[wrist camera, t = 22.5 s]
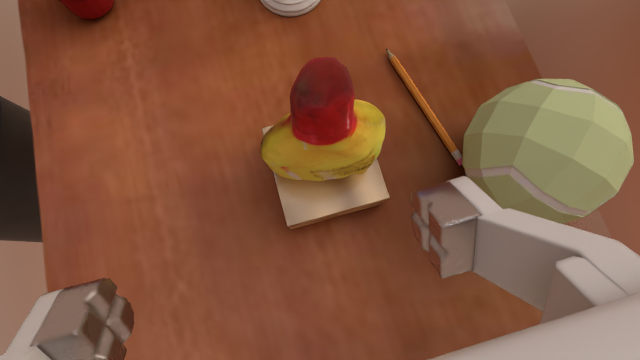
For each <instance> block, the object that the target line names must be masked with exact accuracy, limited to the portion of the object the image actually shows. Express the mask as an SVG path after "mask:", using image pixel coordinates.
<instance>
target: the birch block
mask: <svg viewBox="0 0 640 360" xmlns="http://www.w3.org/2000/svg"><path fill="white" fill-rule="evenodd" d="M272 126H273V125H272ZM272 126H268V127H264V128H262V132H263V136H264V135H265V134H266V132H267V131H268V130H269V129H270V128H271V127H272ZM273 174H274V178H275V182H276V186H277V189H278V193H279V197H280V201H281V205H282V209H283V212H284V216H285V220H286V224H287V227H288V228H289V229H290V230H292V229H295V228H299V227H302V226H306V225H310V224H313V223H317V222H320V221H324V220H327V219H331V218H334V217H338V216H341V215H345V214H349V213H352V212H356V211H359V210H363V209H366V208H370V207H373V206H377V205H380V204H382V203H384V202H385V201H386V200H387V199H389V198H390V197H389V194H388V191H387V188H386V185H385V182H384V179H383V176H382V173H381V170H380V167H379V164H378V161H377V158H376V159H375V160H374V162H373V164H372V165H371V166H370V167H368V168H367V170H366V171H365V172H364V173H363V174H357V173H355V174H351V175H349V176H347V177H344V178H341V179H329V180H324V181H312V180H294V179H290V178H284V177H281V176H279V175H278V174H276V173H275V172H274V171H273Z"/></svg>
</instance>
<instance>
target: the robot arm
mask: <svg viewBox="0 0 640 360" xmlns="http://www.w3.org/2000/svg"><path fill="white" fill-rule="evenodd" d="M410 204H411V205H412V207H413V208H414V209H415V211H414V213H413V214H412V216H411V220H412V227H413V231H414V235H415V237H416V239H417V241H418V243H419V245H420V246H421V248H422V249H424V250H426V251H429V256H430V262H431V263H432V265H433V266H434V268H435V269H436V271H437V272H438V274H439V275H440V277H441V278H446V277H450V276H453V275H457V274H461V273H464V272H468V271H472V270H473V272H474V273H476V274H478V275H480V276H481V277H483V278H485V279H487V280H488V281H490V282H492V283H494V284H495V285H497V286H499V287H501V288H502V289H504V290H506V291H508V292H509V293H511V294H513V295H515V296H516V297H518V298H520V299H522V300H523V301H525V302H527V303H529V304H530V305H532V306H534V307H536V308H537V309H539V310H541V311H543V313H542V317H541V321H540V324H539V325H536V326H532V327H529V328H526V329H523V330H520V331H517V332H513V333H510V334H507V335H504V336H501V337H498V338H495V339H491V340H488V341H485V342H482V343H479V344H476V345H472V346H469V347H466V348H463V349H460V350H457V351H453V352H450V353H447V354H444V355H441V356H438V357H435V358H431V359H428V360H640V256H639V255H637V254H636V253H634V252H633V251H632V250H630V249H629V248H627V247H626V246H625V245H624V244H622V243H621V242H619V241H617V240H613V239H610V238H607V237H604V236H600V235H597V234H594V233H590V232H587V231H584V230H580V229H577V228H574V227H570V226H567V225H564V224H560V223H557V222H554V221H551V220H547V219H544V218H541V217H537V216H534V215H531V214H527V213H524V212H521V211H517V210H514V209H511V208H507V209H502V208H501V207H500V206H499V205H498V204H497V203H496V202H495V201H494V200H492V199H491V198H490V197H489V196H488V195H487V194H486V193H485V192H484V191H482V190H481V189H480V188H479V187H478V186H477V185H476V184H475V183H474V182H473V181H471V180H470V179H469V178H468V177H466V176H462V177H458V178H455V179H452V180H449V181H446V182H443V183H440V184H436V185H433V186H430V187H426V188H423V189H419V190H416V191H412V192H411V195H410ZM116 290H117V286H116V285H115V284H114V283H113V282H112V281H111V279H107V278H102V279H98V280H95V281H91V282H87V283H83V284H79V285H75V286H71V287H67V288H65V289H61V290H57V291H53V292H49V293H46V294H44V295H42V296H41V297H39V298H38V299H37V301H36V303H35V304H34V306H33V308H32V309H31V311H30V312H29V314H28V316H27V317H26V319H25V321H24V323H23V324H22V326H21V327H20V329H19V331H18V333H17V334H16V336H15V337H14V339H13V341H12V343H11V344H10V346H9V347H8V349H7V351H6V352H5V354H4V355H1V356H0V360H124V358H125V355H126V351H127V349H126V348H125V346H124V344H123V343H124V342H125V341H126V340H127V338H128V337H129V336H130V335H131V334H132V330H133V326H134V312H133V310H132V307H131V304H130V303H129V302H128V300H127V299H126V298H124V297H121V296H119V295H116Z"/></svg>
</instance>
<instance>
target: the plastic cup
mask: <svg viewBox="0 0 640 360" xmlns="http://www.w3.org/2000/svg"><path fill="white" fill-rule="evenodd" d="M59 1H60V2H61V3H63V4H64V5H65V6H66V7H67V8H68V9H69V10H70V11H71V12H72V13H74V14H75V15H77V16H78V17H81V18H83V19H94V18H98V17H101V16H102V15H104V14H106V13H107V12H108V11H109V10H110V9H111V8H112V6H113V3H114V0H59Z"/></svg>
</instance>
